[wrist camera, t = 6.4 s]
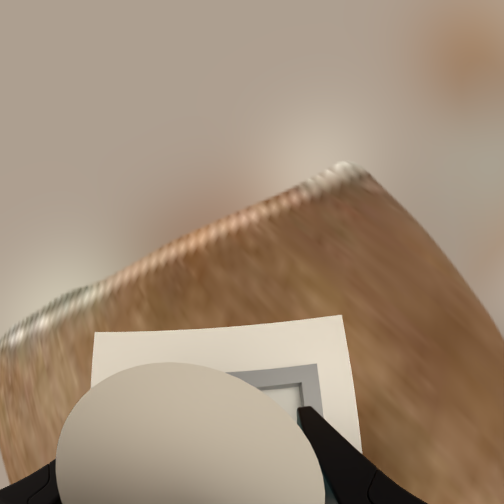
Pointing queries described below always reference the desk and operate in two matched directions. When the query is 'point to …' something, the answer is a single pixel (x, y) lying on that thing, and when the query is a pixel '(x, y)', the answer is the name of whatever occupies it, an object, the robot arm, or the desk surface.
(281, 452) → the teal cylinder white cap
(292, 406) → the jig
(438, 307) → the desk surface
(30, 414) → the desk surface
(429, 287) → the desk surface
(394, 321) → the desk surface
